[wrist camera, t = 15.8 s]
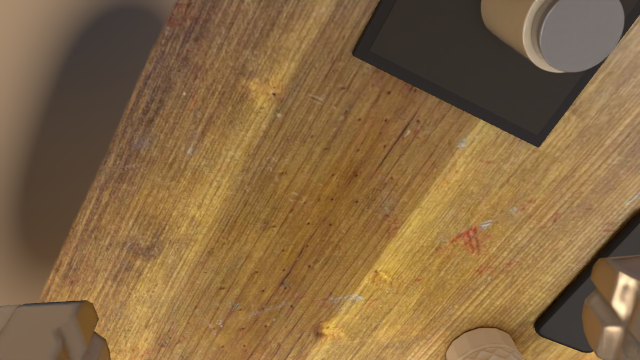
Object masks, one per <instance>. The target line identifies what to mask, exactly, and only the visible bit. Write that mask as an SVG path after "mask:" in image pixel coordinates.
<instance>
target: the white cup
mask: <svg viewBox="0 0 640 360" xmlns="http://www.w3.org/2000/svg"><path fill="white" fill-rule="evenodd" d="M446 360H526V359H525V358H524V357H523V356H522V354H521V353H520V351H519V349H518V347H517V345H516V344H515V342H514V341H513V339H512V338H511V336H510V335H509V334H508V333H506V332H504V331H501V330H499V329H497V328H478V329H475V330H472V331H469V332H465V333H464V334H462V335H461V336H460V337H458V338H457V339H455V340H454V341H453V342H452V343H451V345H450V347H449V349H448V350H447V352H446Z"/></svg>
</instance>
